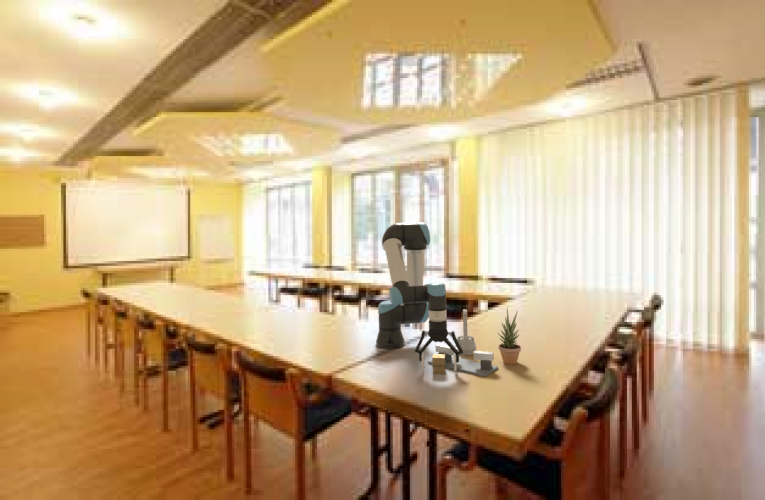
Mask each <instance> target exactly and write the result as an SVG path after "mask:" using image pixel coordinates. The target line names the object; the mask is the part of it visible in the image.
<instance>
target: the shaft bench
mask: <svg viewBox="0 0 765 500" xmlns="http://www.w3.org/2000/svg"><path fill="white" fill-rule="evenodd" d="M437 354H444V353H439V352H437ZM445 361H446V364H445V369H449V370H454V356H453V355H449V354H445ZM479 361H480V362H478V361H476V360H474V361H473V360H470V359H465V358H461V357H459V362H458V363H457V362H456V367H457V369H456V372H457V371H458V372H461V373H465V374H469V375H470V374H471V375H475V376H477V377H478V376H479V377H482V378H485V377H487V376H488V375H491V374H492V373H493V372H495V371H497V370H499V366H497V365H493V363H492V362H493V361H483V360H479ZM427 363H428V364H429V365H432V359H430V360H429V361H428V362H427ZM454 371H455V370H454Z"/></svg>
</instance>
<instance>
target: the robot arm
mask: <svg viewBox="0 0 765 500" xmlns="http://www.w3.org/2000/svg"><path fill="white" fill-rule="evenodd" d="M430 243H431V235H430V230H429V227H428V224H426V222H423V221H421V222H418V221H416V222H414V221H413V222H396V223H393V224H391V225H390V226H389V227H388V228H387V229H386V230H385V231H384V233H383V236H382V239H381V245H382V246H381V247H382V249H383V250H384V251H385V254H386V255H385V256H386V261H387V266H388V271H389V276H390V281H391V287H390V288H389V291H388V297H389V299H388V300H384V301H381V302H380V303H379V304H378V305H377V306H378V307H377V308H378V309H377V314H378V333H377V337H376V340H375V342H376V343H375V345H376V347H378V348H381V349H397V348H401V347H403V346H405V338H404V335H403V332H402V327H401V326H402V325H409V324H410V325H411V324H412V325H413V324H417V325H418V324H421V323H426V322H427V321H428V331H427V330H426V331H425V329H423V330H422V331H421V336H420V338H419V341H418V343H417V345H416V347H415V349H414V353H415V354H418V360H419V362H421V370H422V371H424V370H425V368H426V367H425V353H424V352H425V350H427V348H428V347H429V346H430V345H431V344H432V342H434V343H442V342H444V343H445V345H448V346H449V347H450V348H451V350H452V351H453V352H454V353H455V354H454V356H453V357H454V372H457V370H456V369H457V367H456V362H457V363H458V362H459V358H460V355H464V354H463V349H462V348H461V346H460V344H459V342H458V337H457V336H456V332H455V331H454V330H452V331H448V324H447V323H448V322H447V290H446V284H445V283H444V282H430V283H427V284H424V252H425V251H426V250H427V246H429V245H430ZM402 246H403V250H405V252H406V265H405V261H404V257H403V253H402ZM428 319H429V320H428ZM427 335H428V336H429V337H430V338H429V339H428V340H427V341H426V342H425V344H424V345H423V346H422V347H421V345H422V343H423V340H424V338H425V337H427ZM448 336H450V337H451V339H452V340H453V343H454V344H455V346H454V345H453V344H452V342H451V341H450V340H449V338H448ZM456 346H457V348H458V350H459V351H458V350H457V349H456V348H455V347H456ZM420 347H421V348H420ZM459 354H460V355H459Z"/></svg>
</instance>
